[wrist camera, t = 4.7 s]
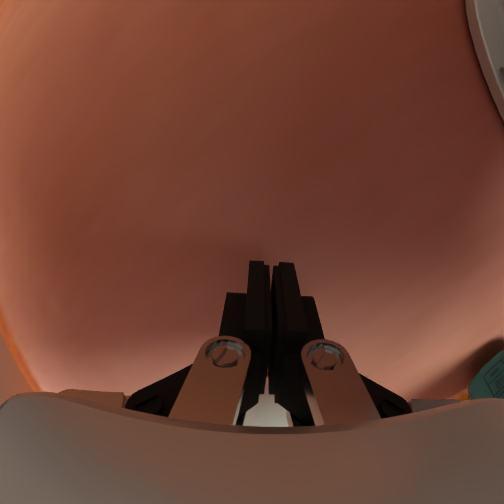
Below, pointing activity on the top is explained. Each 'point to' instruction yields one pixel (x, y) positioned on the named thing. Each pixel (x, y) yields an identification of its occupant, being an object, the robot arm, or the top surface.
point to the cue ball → (266, 412)
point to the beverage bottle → (489, 380)
